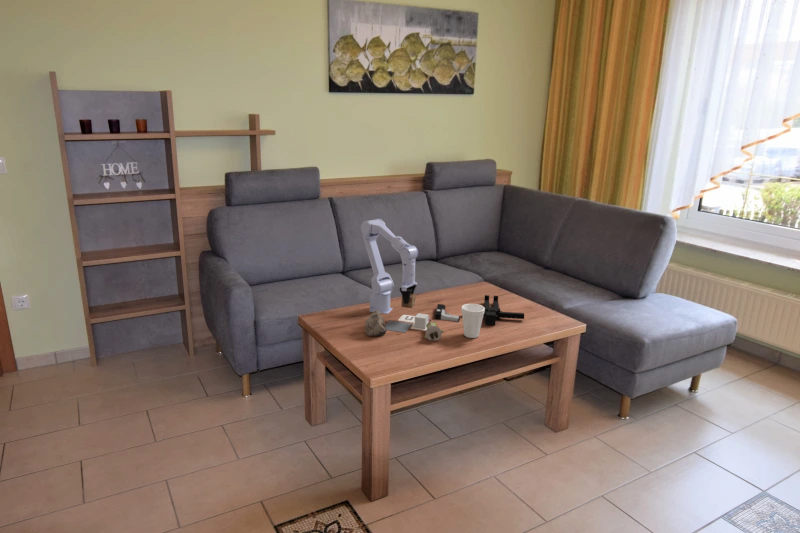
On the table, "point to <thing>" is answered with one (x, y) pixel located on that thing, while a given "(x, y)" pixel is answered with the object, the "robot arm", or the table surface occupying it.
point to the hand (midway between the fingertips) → (407, 301)
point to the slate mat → (398, 326)
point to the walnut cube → (411, 302)
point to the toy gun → (445, 314)
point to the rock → (375, 324)
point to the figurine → (433, 331)
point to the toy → (497, 312)
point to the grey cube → (421, 321)
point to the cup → (472, 319)
